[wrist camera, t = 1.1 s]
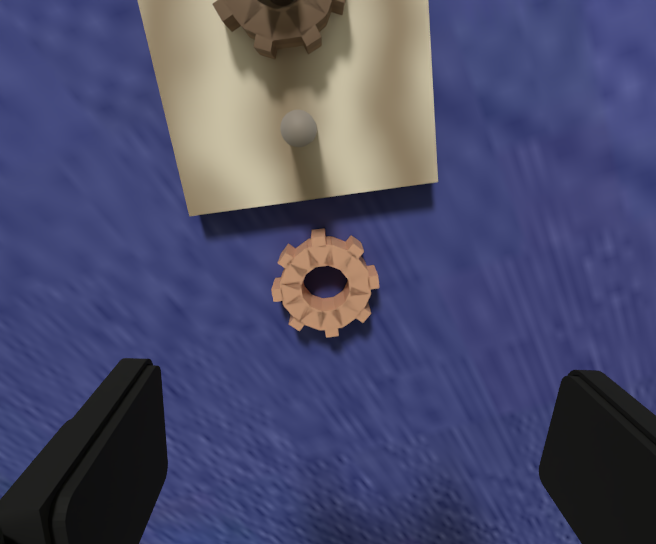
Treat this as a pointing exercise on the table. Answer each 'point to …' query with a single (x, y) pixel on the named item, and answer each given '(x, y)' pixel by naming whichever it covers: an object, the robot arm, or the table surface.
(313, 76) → the gear board
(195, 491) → the table surface
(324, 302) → the terracotta gear
